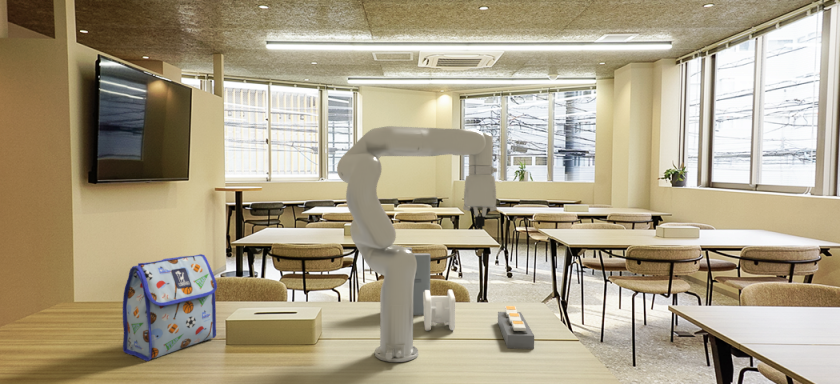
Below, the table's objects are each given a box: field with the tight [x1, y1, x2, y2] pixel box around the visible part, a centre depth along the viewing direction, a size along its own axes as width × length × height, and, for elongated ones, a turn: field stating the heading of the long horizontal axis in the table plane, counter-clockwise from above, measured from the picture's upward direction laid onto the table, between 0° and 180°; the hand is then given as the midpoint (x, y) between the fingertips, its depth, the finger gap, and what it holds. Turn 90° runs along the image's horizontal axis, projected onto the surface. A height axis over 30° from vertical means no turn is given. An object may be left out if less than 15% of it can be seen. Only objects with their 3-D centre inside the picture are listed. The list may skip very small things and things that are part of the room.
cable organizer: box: [423, 289, 456, 332], centre depth 167 cm, size 15×11×12 cm
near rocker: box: [512, 321, 526, 331], centre depth 151 cm, size 5×4×1 cm
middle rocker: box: [508, 313, 521, 323], centre depth 159 cm, size 5×4×1 cm
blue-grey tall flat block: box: [405, 246, 431, 316], centre depth 182 cm, size 17×5×25 cm, turn 89°
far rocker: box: [504, 305, 518, 317], centre depth 167 cm, size 5×4×1 cm
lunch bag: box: [122, 253, 218, 362], centre depth 145 cm, size 23×17×27 cm
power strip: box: [497, 311, 535, 350], centre depth 164 cm, size 34×8×5 cm, turn 177°
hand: (479, 228), depth 156 cm, fingers closed
